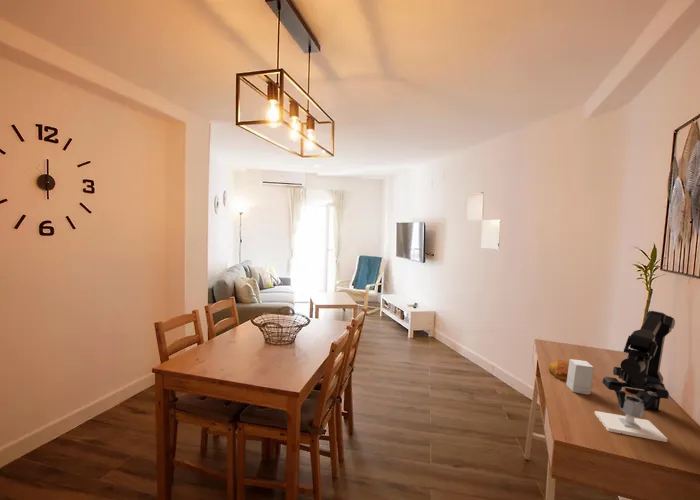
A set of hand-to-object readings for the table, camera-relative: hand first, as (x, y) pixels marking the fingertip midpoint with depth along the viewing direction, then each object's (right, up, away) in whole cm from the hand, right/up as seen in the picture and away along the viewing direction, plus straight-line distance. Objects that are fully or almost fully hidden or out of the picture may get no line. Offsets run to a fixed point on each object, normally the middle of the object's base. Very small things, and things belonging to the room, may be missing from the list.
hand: (631, 409), depth 132 cm
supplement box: (-1, -4, +29) cm, 29 cm away
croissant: (+1, -3, +42) cm, 43 cm away
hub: (0, -1, 0) cm, 1 cm away
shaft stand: (-1, -7, +1) cm, 7 cm away
